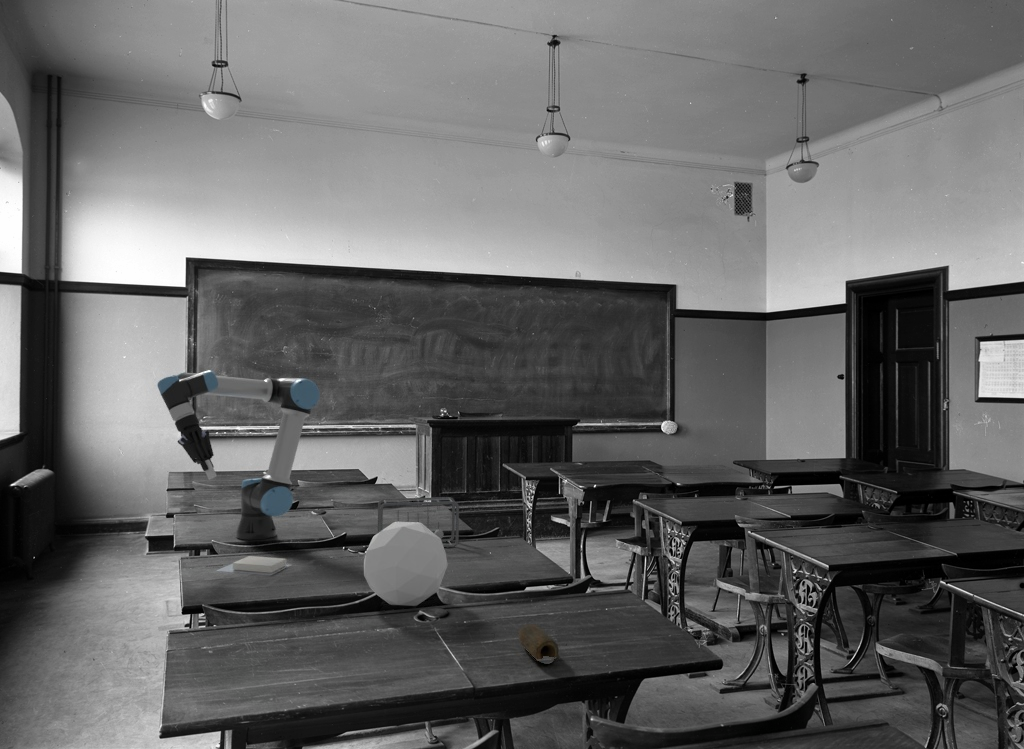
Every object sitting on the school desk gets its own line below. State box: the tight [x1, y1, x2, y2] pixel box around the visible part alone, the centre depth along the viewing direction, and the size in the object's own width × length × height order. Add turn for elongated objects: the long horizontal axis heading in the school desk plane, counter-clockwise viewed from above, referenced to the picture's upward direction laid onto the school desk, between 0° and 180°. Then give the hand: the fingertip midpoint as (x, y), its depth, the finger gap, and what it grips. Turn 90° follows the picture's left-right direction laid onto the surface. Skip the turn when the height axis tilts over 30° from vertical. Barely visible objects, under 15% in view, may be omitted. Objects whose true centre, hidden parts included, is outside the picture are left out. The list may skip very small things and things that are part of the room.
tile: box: [232, 555, 287, 573], centre depth 268 cm, size 2×10×14 cm
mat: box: [215, 563, 292, 577], centre depth 268 cm, size 20×14×1 cm
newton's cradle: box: [377, 496, 460, 548], centre depth 306 cm, size 30×10×18 cm, turn 104°
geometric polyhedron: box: [363, 521, 448, 607], centre depth 233 cm, size 24×25×25 cm
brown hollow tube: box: [518, 624, 559, 659], centre depth 193 cm, size 15×7×7 cm, turn 21°
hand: (213, 477), depth 281 cm, fingers closed
